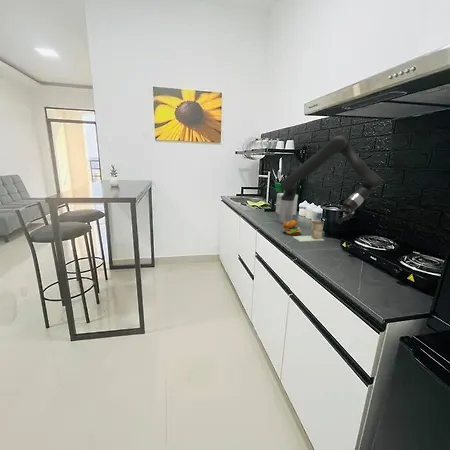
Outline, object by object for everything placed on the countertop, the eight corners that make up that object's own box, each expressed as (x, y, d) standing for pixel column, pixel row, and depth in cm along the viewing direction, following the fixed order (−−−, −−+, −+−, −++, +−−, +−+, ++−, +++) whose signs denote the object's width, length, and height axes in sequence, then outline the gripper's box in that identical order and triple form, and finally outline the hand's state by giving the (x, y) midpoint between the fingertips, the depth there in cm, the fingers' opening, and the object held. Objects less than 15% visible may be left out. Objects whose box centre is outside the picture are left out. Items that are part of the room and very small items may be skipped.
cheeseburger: (302, 236, 155) (299, 221, 153) (284, 238, 158) (282, 223, 156) (300, 231, 165) (298, 217, 163) (284, 234, 168) (281, 220, 165)
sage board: (315, 236, 157) (316, 235, 157) (324, 240, 148) (324, 239, 148) (292, 237, 153) (292, 236, 153) (300, 242, 145) (300, 241, 145)
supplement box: (288, 211, 229) (289, 192, 224) (296, 215, 217) (298, 194, 212) (275, 212, 225) (276, 193, 220) (282, 215, 213) (284, 195, 208)
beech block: (310, 236, 153) (312, 221, 151) (317, 236, 154) (319, 220, 152) (314, 239, 149) (316, 222, 147) (321, 238, 150) (323, 222, 148)
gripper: (342, 196, 157) (323, 214, 157) (358, 199, 143) (338, 219, 144) (348, 204, 159) (330, 222, 159) (365, 208, 146) (345, 228, 146)
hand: (334, 221), depth 151 cm, fingers open, 8 cm apart
